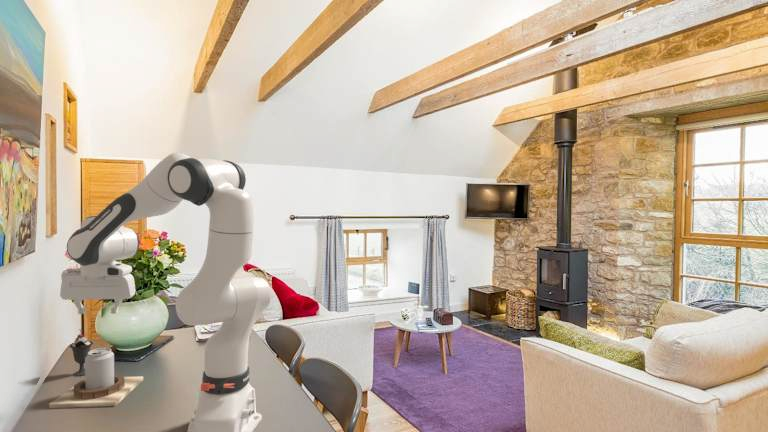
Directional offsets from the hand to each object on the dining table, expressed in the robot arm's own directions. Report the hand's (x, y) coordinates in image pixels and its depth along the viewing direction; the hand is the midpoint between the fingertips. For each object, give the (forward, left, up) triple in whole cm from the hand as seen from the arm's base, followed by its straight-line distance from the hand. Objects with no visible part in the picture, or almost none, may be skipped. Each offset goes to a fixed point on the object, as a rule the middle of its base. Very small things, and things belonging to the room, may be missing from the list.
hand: (98, 313), depth 134 cm
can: (0, 0, -24) cm, 24 cm away
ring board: (0, 0, -25) cm, 25 cm away
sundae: (+16, +14, -25) cm, 33 cm away
